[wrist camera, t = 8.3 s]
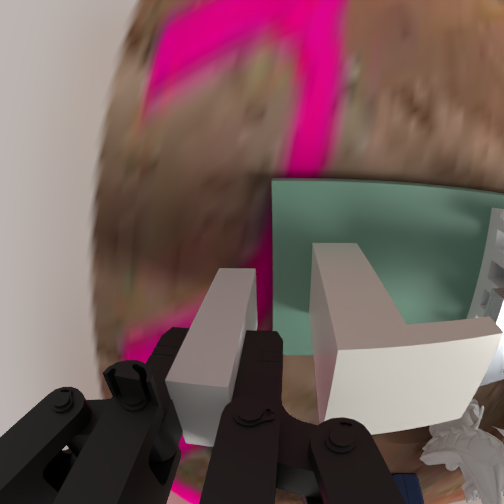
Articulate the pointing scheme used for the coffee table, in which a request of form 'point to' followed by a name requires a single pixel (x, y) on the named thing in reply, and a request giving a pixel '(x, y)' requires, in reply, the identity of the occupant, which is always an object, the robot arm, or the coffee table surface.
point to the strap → (500, 310)
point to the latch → (387, 350)
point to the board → (388, 246)
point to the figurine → (469, 454)
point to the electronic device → (409, 488)
